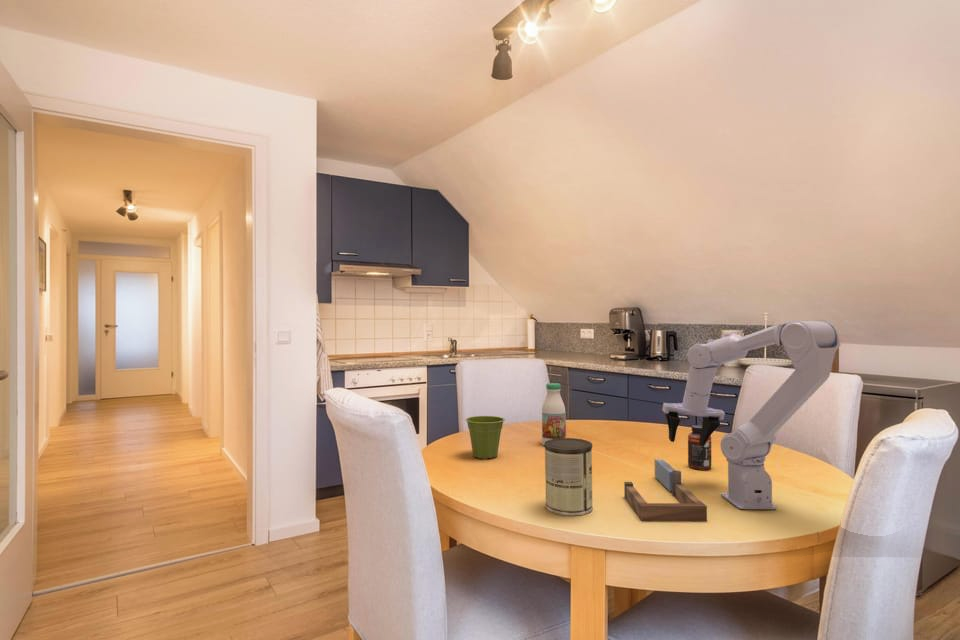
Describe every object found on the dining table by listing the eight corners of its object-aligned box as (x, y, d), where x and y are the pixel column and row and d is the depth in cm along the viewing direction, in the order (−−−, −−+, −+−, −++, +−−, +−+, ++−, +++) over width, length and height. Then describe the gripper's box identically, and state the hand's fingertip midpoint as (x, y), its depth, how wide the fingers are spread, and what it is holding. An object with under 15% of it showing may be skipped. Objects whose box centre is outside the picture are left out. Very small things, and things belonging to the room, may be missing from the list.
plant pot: (511, 459, 156) (511, 420, 156) (474, 463, 152) (473, 424, 152) (495, 449, 167) (495, 414, 167) (460, 453, 163) (459, 417, 163)
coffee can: (541, 499, 121) (541, 438, 121) (586, 499, 121) (586, 437, 121) (549, 516, 111) (548, 449, 111) (598, 515, 111) (597, 448, 111)
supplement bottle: (713, 471, 142) (713, 428, 142) (690, 470, 144) (690, 428, 144) (708, 465, 148) (708, 424, 148) (686, 464, 149) (686, 423, 149)
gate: (678, 491, 125) (677, 472, 125) (669, 491, 125) (669, 472, 125) (662, 476, 137) (662, 458, 137) (654, 476, 137) (654, 458, 137)
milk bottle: (537, 443, 175) (537, 383, 175) (557, 441, 178) (556, 381, 178) (550, 449, 168) (549, 385, 168) (570, 446, 171) (570, 384, 171)
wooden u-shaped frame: (707, 520, 108) (707, 493, 108) (641, 520, 108) (641, 493, 108) (679, 493, 124) (679, 470, 124) (622, 493, 125) (622, 470, 125)
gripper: (721, 389, 134) (709, 438, 137) (663, 382, 134) (653, 431, 137) (732, 399, 127) (720, 451, 130) (671, 392, 127) (661, 443, 130)
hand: (686, 442), depth 133 cm, fingers open, 7 cm apart
